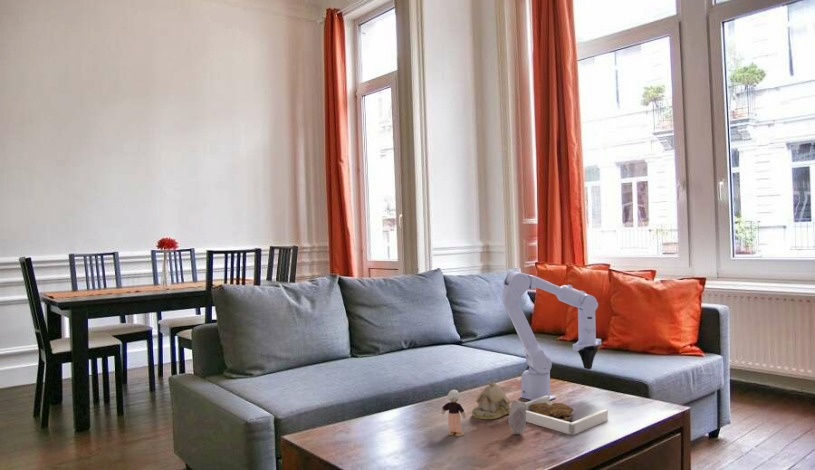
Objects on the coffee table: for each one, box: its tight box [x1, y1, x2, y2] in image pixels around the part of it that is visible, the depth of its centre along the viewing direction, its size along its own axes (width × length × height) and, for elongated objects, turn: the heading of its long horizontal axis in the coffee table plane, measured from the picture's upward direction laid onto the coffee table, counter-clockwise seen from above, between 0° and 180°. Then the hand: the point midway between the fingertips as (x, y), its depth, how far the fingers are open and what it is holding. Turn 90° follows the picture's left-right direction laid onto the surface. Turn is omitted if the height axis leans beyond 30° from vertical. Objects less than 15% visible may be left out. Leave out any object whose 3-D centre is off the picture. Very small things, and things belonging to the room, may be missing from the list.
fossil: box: [507, 399, 527, 435], centre depth 170 cm, size 6×4×10 cm, turn 117°
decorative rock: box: [529, 401, 574, 422], centre depth 185 cm, size 11×4×15 cm
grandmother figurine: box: [440, 389, 467, 437], centre depth 172 cm, size 8×4×13 cm, turn 71°
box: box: [509, 396, 609, 436], centre depth 183 cm, size 22×18×3 cm
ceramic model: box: [471, 381, 511, 420], centre depth 190 cm, size 14×11×10 cm
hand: (587, 368), depth 205 cm, fingers closed
